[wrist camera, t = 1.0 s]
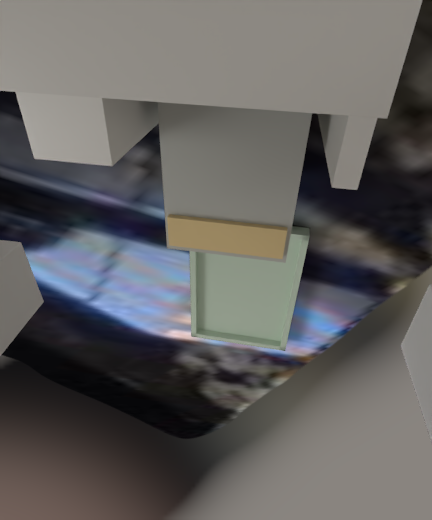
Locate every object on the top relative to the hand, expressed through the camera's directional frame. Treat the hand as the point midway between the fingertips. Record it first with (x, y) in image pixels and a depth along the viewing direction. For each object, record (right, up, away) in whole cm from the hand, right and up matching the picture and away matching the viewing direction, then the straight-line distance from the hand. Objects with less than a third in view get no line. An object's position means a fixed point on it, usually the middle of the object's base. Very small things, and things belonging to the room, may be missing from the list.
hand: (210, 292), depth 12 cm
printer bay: (+2, +15, +9) cm, 18 cm away
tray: (+3, -1, +21) cm, 21 cm away
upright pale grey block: (+3, +12, +12) cm, 17 cm away
